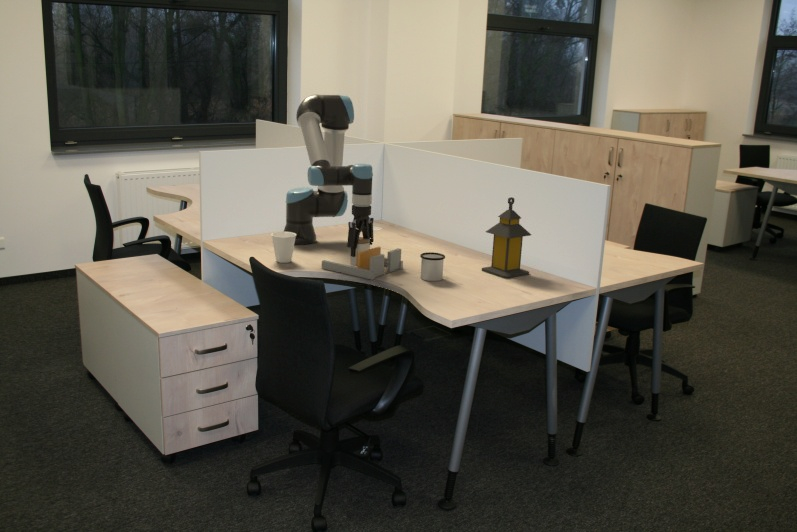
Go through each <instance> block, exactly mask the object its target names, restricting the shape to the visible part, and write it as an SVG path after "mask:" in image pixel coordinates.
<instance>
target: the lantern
mask: <svg viewBox="0 0 797 532" xmlns="http://www.w3.org/2000/svg"><path fill="white" fill-rule="evenodd" d="M507 203H508V209H506V210H505V211H503V212H502V213H500V215H498V216H497V218H499V222H498V223H496V224H494V225H493V226H492V227H490V228H489V229H487V230H486V231H485V233H487V234H492V235H493V238H492V239H493V241H492V253H491V255H492V256H491V266H486V267H485V266H484V267H481V271H482V272H484V273H487V274H490V275H493V276H495V277H498V278H501V279H506V280H509V279H512V278H513V279H514V278H519V277H523V276H528V275H530V271H529V270H526V269H522V268H521V261H522V250H523V249H522V248H523V238H524V237H529V236H532V234H531V233H530V232H529V231H528V230H527V229H525V227H523V225H522V224H520V220H521V219H522V217H521V216H520V215H519V214H518V213H517V212H516V211H515V210H513V206H514V204H515V198H514V197H508V198H507Z"/></svg>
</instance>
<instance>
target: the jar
mask: <svg viewBox="0 0 797 532" xmlns="http://www.w3.org/2000/svg"><path fill="white" fill-rule="evenodd" d="M370 239H371V238H370ZM370 239H369V238H364V237H363V236H359V240H358V244H357V249H358V253H360V252H363V251H366V250H369V245H370ZM370 246H371V245H370ZM350 264H351V263H350ZM350 266H353V267H357V265H353V264H351V265H350Z"/></svg>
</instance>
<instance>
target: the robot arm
mask: <svg viewBox="0 0 797 532" xmlns="http://www.w3.org/2000/svg"><path fill="white" fill-rule="evenodd" d="M295 116H296V117H295V118H296V119H295V120H296V122H297V126H298V127H299V129H301V132H302V136H303V140H304V144H305V148H306V152H307V156H308V161H309V163H310V166H309V167H308V169H307V182H308V184H309V185H310V186H313V187H314V186H315V187H317V190H314V188H312V187H305V186H304V187H303V186H302V187H297V188H292V189H290V190H288V191H287V192H286V194H285V195H286V196H285V197H286V198H285V204H286V205H285V206H286V207H285V208H286V209H285V214H286V215H285V226H284V229H283V232H292V233H295V234H296V237H295V243H294V245H310V244H314V243H316V242H317V235H316V231H315V228H314V223H313V222H314V221H313V219H314V218H335V217H341V216H343V215H344V214H345V213H346V211H347V208H348V193H347V191H346V190H345V186H351V187H352V188H351V190H352V191H351V195H352V196H351V204H352V205H351V215H352V216H353V220H352V221H348V224H347V226H348V233H347V240H346V241H347V242H346V243H347V244H346V247H347V248H348V249H349V248H350V264H353V265H352V266H354V265H357V255H358V249H357V244H358V240H359V237H361V236H360V235H361V233H362V237H364V238H369V239H370V245H369V249H371V247H370V246H372V245H373V242H374V217H370V216H371V214H372V206H371V205H372V200H373V199H372V198H373V195H372V193H373V192H372V191H373V176H374V173H373V166H372V165H371V164H367V163H356V164H349V165H347V166H346V165H344V166H343V162H344V161H343V160H344V146H345V133H346V132H347V131H348V130H349V127H350V125H352V124H353V123H354V121H355V110H354V105H353V101H352V99H351V98H350V97H349V96H348V95H340V94H312V95H309V96H307V97H305V98H304V99H303V100H302V101H301V103H300V104H299V105H298V107H297V110H296V115H295ZM320 124H321V125H320ZM321 128H322V129H323V130H324V137H323V133H322V129H321Z"/></svg>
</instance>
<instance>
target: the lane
mask: <svg viewBox="0 0 797 532" xmlns="http://www.w3.org/2000/svg"><path fill="white" fill-rule="evenodd" d="M384 261H388V264H385V263H384ZM403 264H404V261H403V260H402V248H395V249H392V250H389V251H387V257H385V254H384V253H381V254H379V255H376V256H373V257H370V268H368V269H363V268H358V267H357V266H354V265H348V264H344V263H339V262H335V261H331V260H321V269H323V270H327V271H333V272H337V273H340V272H341V273H340V274H345V275H350V276H353V277H354V276H355V277H358V278H362V279H366V280H367V279H368V280H372V281H373V280H375V279H376V278H379V277H382V276H385V275H387V274H390V273H392V272H395V271H398V270H402V269H403V266H404V265H403ZM385 267H386V272H385ZM384 274H385V275H384Z"/></svg>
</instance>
